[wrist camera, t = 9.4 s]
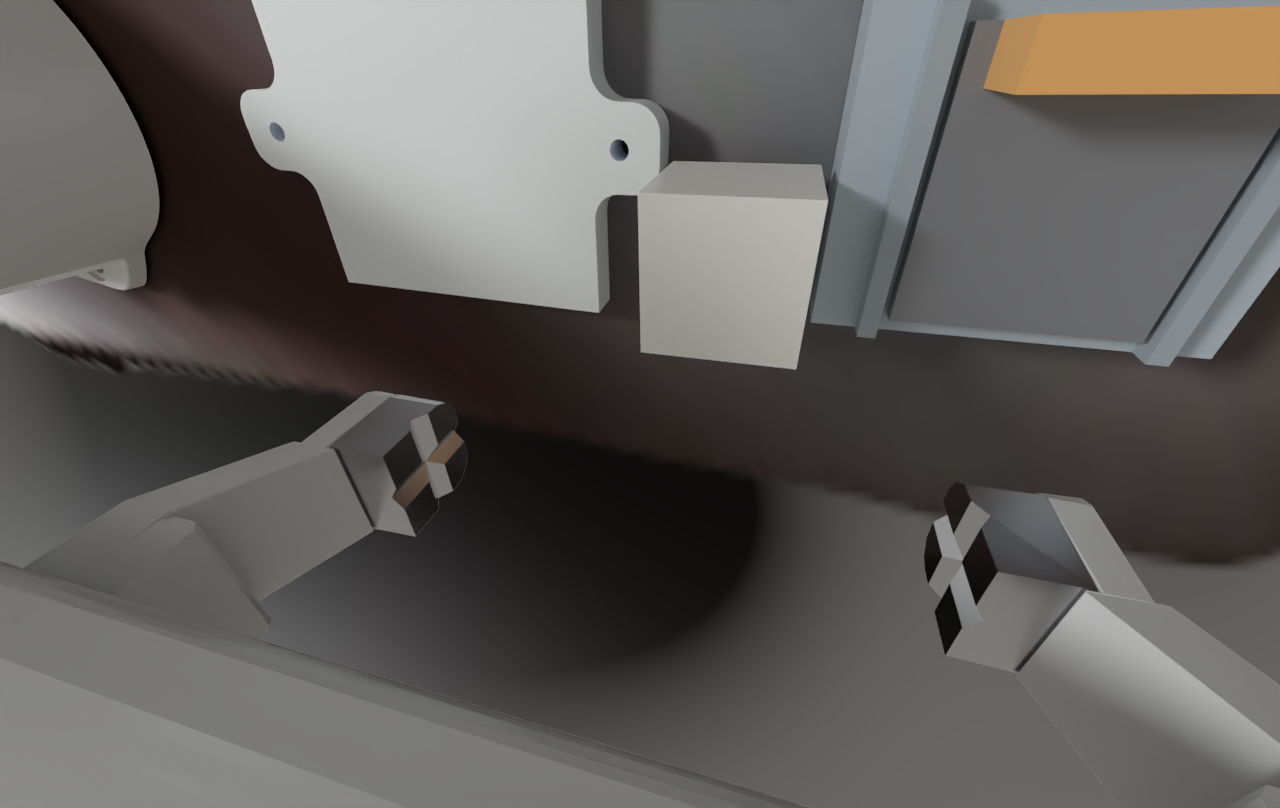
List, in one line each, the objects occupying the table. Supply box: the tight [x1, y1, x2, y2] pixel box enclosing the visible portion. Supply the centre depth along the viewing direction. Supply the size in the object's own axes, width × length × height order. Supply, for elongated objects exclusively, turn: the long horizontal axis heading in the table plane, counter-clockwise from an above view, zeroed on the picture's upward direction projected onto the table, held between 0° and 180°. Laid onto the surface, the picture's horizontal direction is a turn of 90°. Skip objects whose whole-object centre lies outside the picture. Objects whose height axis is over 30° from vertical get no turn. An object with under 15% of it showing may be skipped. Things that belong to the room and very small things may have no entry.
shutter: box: [887, 6, 1280, 343], centre depth 13 cm, size 7×8×3 cm
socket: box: [810, 0, 1280, 367], centre depth 13 cm, size 12×16×4 cm
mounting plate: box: [240, 0, 669, 313], centre depth 20 cm, size 18×13×2 cm
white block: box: [638, 161, 828, 370], centre depth 17 cm, size 5×5×6 cm
